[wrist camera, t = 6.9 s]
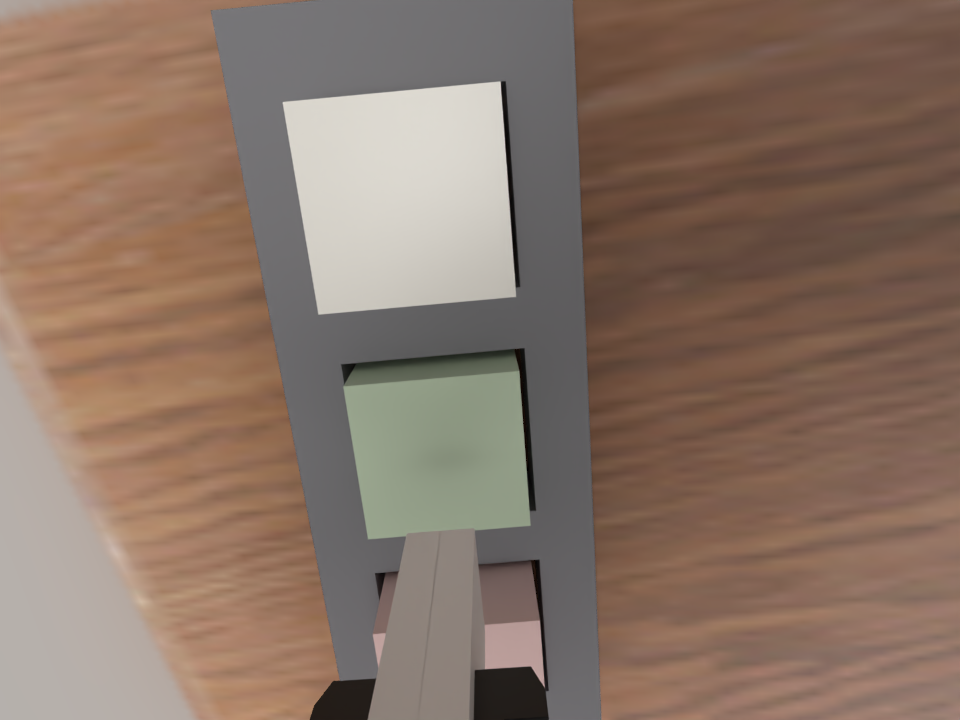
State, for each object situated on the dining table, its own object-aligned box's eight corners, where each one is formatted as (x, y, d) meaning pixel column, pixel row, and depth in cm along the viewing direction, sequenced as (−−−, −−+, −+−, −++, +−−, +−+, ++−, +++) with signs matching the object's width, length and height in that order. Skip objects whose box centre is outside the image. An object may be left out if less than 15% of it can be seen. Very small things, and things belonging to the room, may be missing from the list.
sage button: (364, 349, 23) (343, 386, 19) (511, 336, 23) (519, 371, 19) (384, 481, 25) (368, 539, 21) (521, 469, 25) (530, 525, 21)
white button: (319, 113, 19) (282, 101, 16) (495, 97, 19) (500, 81, 16) (346, 286, 21) (318, 314, 17) (508, 272, 21) (516, 296, 17)
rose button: (388, 559, 24) (372, 634, 20) (529, 547, 24) (539, 620, 20) (405, 673, 26) (394, 761, 22) (537, 662, 26) (548, 749, 22)
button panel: (247, 31, 20) (210, 10, 17) (557, 2, 20) (571, -25, 17) (366, 696, 28) (354, 756, 26) (588, 678, 28) (602, 736, 25)
